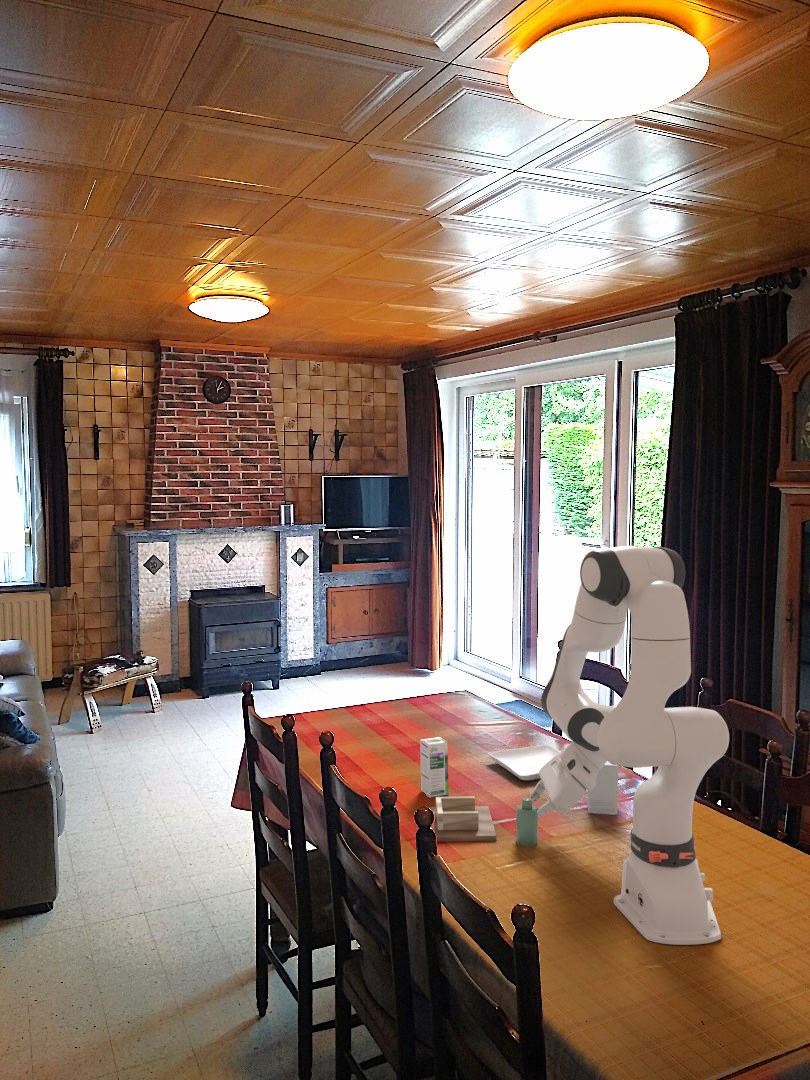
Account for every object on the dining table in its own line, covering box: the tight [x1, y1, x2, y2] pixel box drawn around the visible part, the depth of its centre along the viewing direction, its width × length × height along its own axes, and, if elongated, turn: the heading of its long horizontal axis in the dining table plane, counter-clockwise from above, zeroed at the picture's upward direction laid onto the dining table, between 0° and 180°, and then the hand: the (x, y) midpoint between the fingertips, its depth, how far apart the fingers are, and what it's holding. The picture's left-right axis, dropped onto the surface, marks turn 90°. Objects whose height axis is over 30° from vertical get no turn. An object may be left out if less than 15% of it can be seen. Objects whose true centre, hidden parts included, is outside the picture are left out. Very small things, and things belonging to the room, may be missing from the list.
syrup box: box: [419, 736, 450, 799], centre depth 232 cm, size 6×6×14 cm
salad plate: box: [487, 744, 562, 781], centre depth 250 cm, size 21×21×3 cm
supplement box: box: [586, 761, 619, 816], centre depth 219 cm, size 7×7×13 cm
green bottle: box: [515, 797, 539, 847], centre depth 200 cm, size 5×5×10 cm
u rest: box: [426, 795, 497, 842], centre depth 210 cm, size 18×16×5 cm
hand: (535, 806), depth 200 cm, fingers open, 8 cm apart
